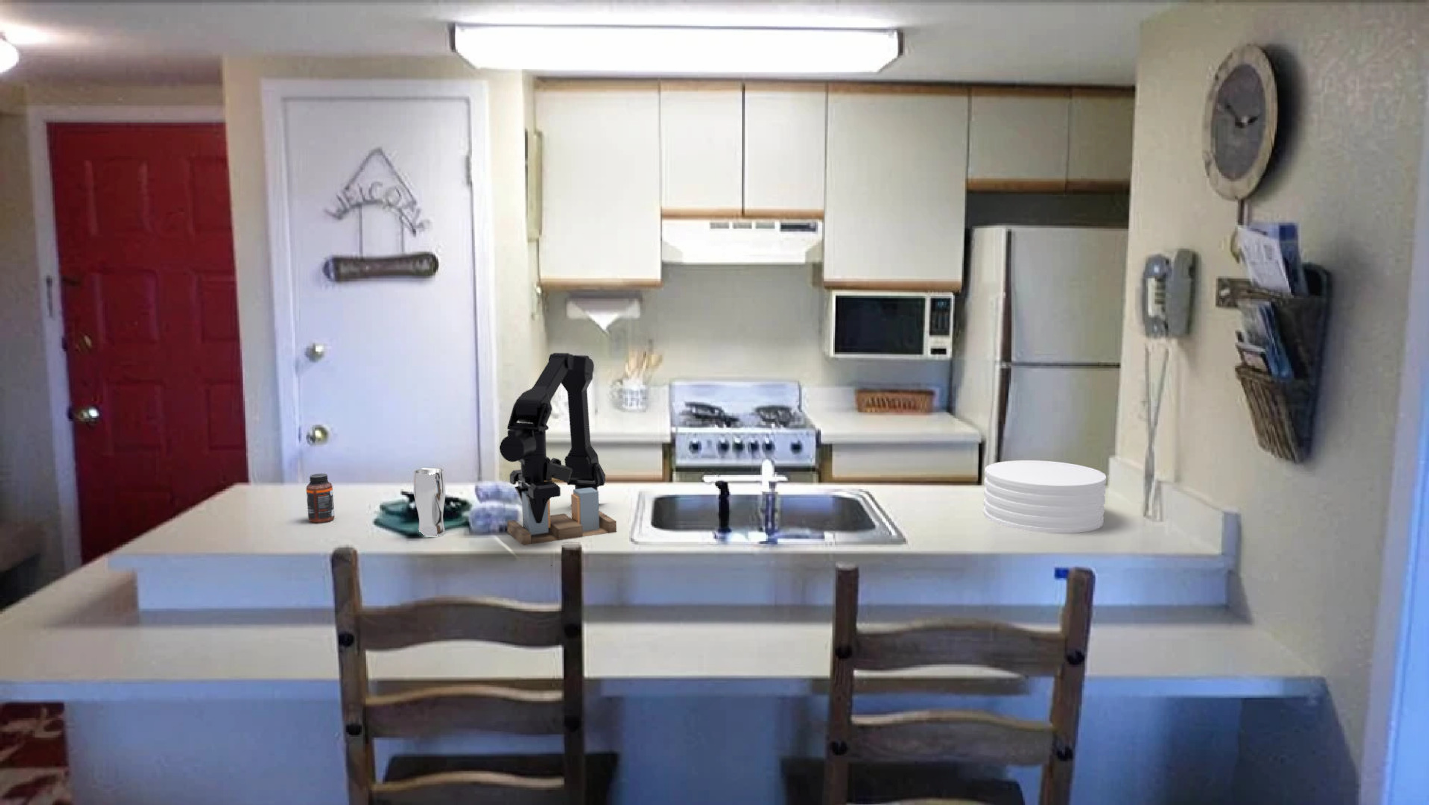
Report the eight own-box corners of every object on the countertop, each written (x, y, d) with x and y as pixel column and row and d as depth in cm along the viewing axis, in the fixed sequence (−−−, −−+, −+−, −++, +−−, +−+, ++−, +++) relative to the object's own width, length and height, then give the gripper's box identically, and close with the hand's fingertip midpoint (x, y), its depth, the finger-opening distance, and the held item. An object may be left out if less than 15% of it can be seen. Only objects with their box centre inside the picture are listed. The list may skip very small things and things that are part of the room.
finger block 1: (523, 530, 222) (521, 491, 220) (544, 527, 224) (543, 489, 223) (529, 535, 218) (527, 495, 216) (551, 532, 220) (549, 493, 219)
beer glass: (419, 539, 221) (416, 475, 219) (413, 532, 227) (410, 469, 225) (450, 535, 224) (447, 472, 222) (443, 528, 230) (440, 466, 228)
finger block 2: (571, 527, 227) (570, 489, 226) (592, 524, 230) (591, 487, 228) (578, 532, 223) (577, 494, 222) (599, 529, 226) (598, 491, 224)
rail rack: (507, 536, 224) (507, 521, 224) (597, 523, 234) (597, 509, 234) (523, 549, 214) (522, 534, 213) (616, 535, 224) (616, 521, 223)
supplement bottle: (340, 518, 239) (337, 473, 237) (321, 524, 234) (318, 478, 232) (322, 516, 242) (319, 471, 240) (302, 522, 236) (299, 476, 235)
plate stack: (1109, 511, 245) (1112, 466, 243) (1095, 540, 221) (1098, 490, 219) (996, 498, 258) (998, 456, 256) (971, 524, 234) (972, 477, 232)
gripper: (582, 456, 214) (583, 525, 216) (554, 442, 230) (555, 506, 232) (532, 462, 209) (535, 532, 211) (507, 447, 225) (510, 512, 227)
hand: (535, 520), depth 220 cm, fingers closed on finger block 1, 4 cm apart
